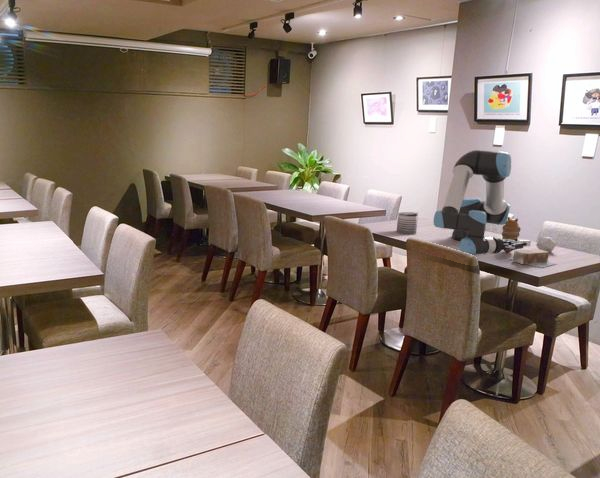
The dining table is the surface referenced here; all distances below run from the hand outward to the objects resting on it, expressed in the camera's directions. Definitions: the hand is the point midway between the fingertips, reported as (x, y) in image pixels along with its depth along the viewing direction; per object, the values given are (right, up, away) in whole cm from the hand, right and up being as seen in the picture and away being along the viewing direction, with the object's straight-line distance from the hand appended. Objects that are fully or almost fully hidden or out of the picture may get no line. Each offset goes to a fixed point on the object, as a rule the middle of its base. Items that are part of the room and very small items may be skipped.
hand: (529, 243), depth 239 cm
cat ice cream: (-2, -5, +21) cm, 22 cm away
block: (-6, -7, -1) cm, 9 cm away
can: (-46, +5, +58) cm, 74 cm away
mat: (+3, -9, +5) cm, 10 cm away
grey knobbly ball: (+20, -5, +27) cm, 34 cm away
